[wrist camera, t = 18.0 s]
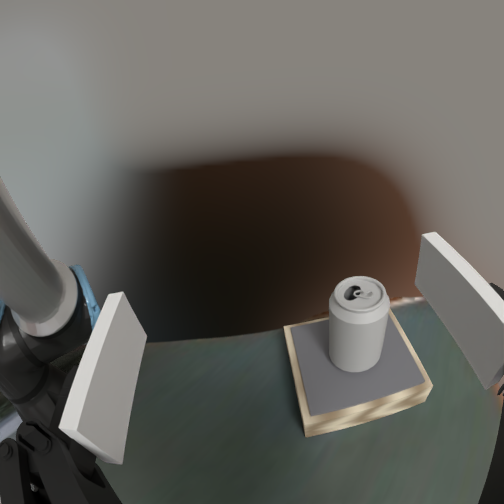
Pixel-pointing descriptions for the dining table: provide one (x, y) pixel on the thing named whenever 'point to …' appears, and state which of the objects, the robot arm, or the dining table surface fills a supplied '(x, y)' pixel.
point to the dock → (352, 379)
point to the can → (357, 323)
